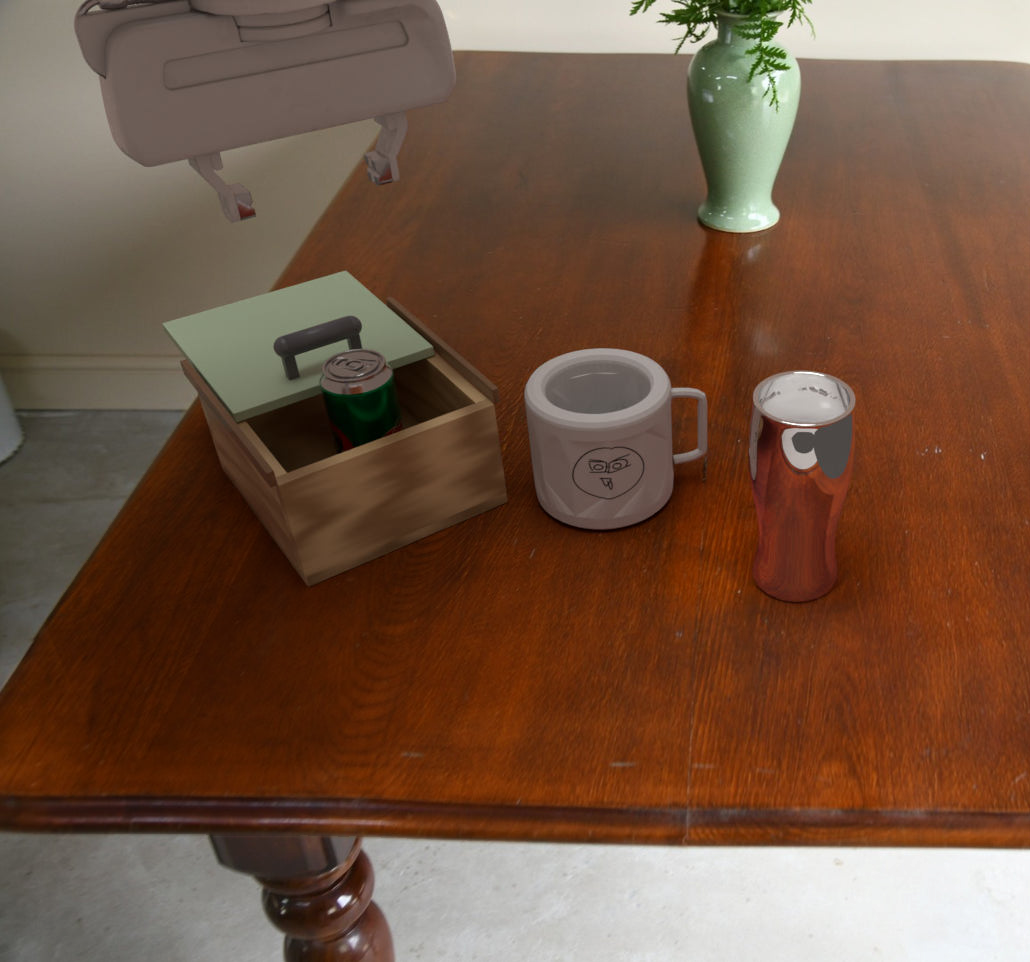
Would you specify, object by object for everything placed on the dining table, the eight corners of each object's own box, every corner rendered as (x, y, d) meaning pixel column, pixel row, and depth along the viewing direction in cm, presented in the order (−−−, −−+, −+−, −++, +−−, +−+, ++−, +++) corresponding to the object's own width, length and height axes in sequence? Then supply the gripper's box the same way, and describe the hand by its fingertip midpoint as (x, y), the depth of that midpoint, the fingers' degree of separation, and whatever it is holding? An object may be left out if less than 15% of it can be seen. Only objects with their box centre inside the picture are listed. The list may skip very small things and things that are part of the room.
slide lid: (236, 423, 80) (220, 373, 77) (164, 331, 90) (149, 285, 88) (435, 355, 87) (426, 308, 85) (347, 278, 98) (338, 234, 95)
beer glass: (863, 582, 80) (881, 404, 71) (785, 621, 77) (793, 439, 68) (803, 531, 85) (813, 357, 76) (727, 565, 81) (728, 388, 72)
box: (301, 590, 79) (266, 473, 73) (215, 470, 91) (179, 360, 84) (513, 499, 88) (498, 387, 81) (411, 400, 99) (391, 296, 93)
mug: (541, 541, 83) (527, 429, 77) (532, 458, 92) (519, 351, 86) (720, 519, 86) (720, 409, 80) (695, 440, 94) (694, 335, 88)
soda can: (398, 525, 83) (368, 387, 76) (336, 514, 84) (301, 377, 77) (429, 485, 87) (403, 350, 80) (370, 475, 88) (339, 341, 81)
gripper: (77, 5, 56) (160, 260, 64) (450, -51, 66) (480, 176, 74) (47, -20, 60) (128, 224, 68) (403, -68, 70) (437, 149, 78)
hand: (314, 198), depth 71 cm, fingers open, 8 cm apart
